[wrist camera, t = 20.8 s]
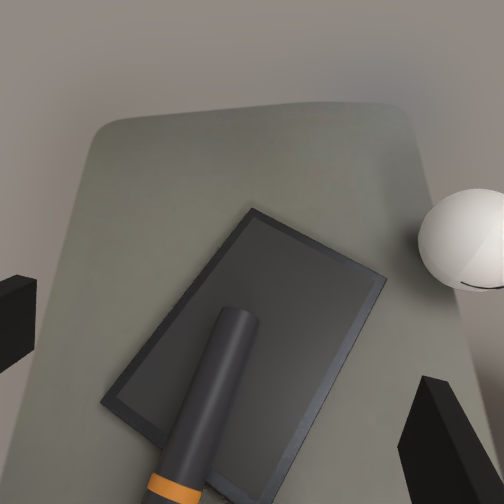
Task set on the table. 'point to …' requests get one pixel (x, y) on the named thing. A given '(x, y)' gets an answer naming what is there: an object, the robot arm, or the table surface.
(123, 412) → the tablet
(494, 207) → the white sphere
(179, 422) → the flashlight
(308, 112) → the table surface
